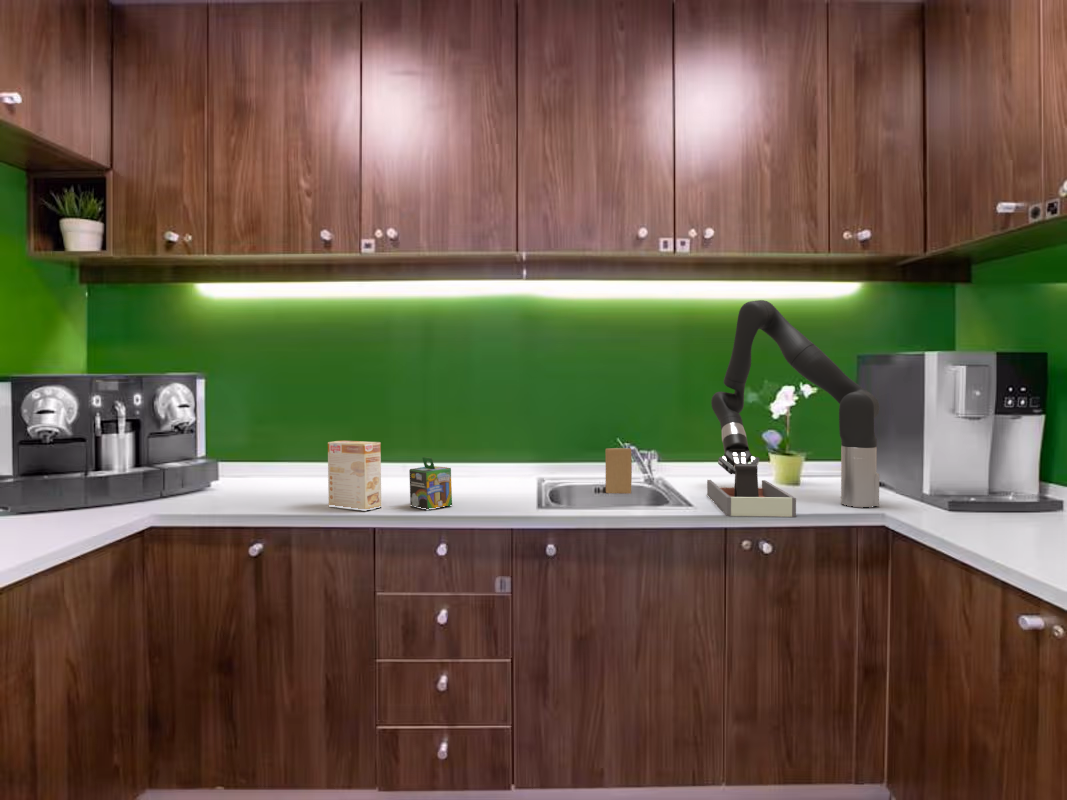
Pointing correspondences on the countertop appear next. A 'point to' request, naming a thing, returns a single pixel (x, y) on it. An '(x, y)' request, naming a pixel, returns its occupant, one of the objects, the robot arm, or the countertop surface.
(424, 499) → the chalk box
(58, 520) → the countertop surface
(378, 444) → the coffeecake box
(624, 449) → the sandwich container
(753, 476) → the door stopper
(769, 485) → the open storage tray
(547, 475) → the countertop surface
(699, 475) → the countertop surface
